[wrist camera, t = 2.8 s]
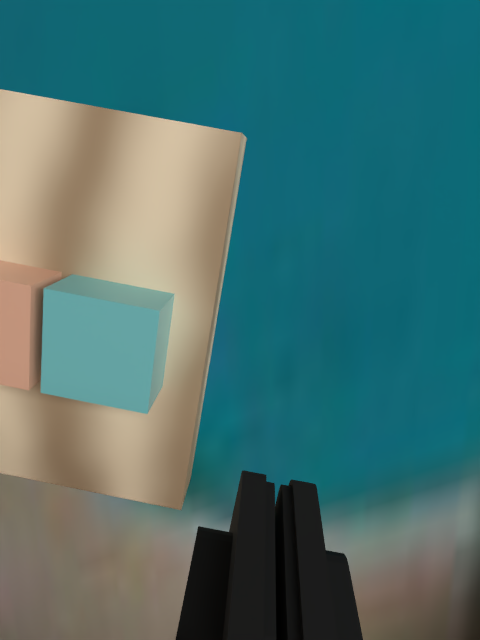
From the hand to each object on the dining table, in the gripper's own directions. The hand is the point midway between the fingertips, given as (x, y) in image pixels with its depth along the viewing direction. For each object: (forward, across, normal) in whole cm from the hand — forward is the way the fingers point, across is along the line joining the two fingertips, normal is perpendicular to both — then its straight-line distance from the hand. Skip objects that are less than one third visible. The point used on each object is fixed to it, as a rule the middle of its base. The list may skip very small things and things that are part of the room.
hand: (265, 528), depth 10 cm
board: (+13, +9, 0) cm, 15 cm away
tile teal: (+10, +7, 0) cm, 12 cm away
